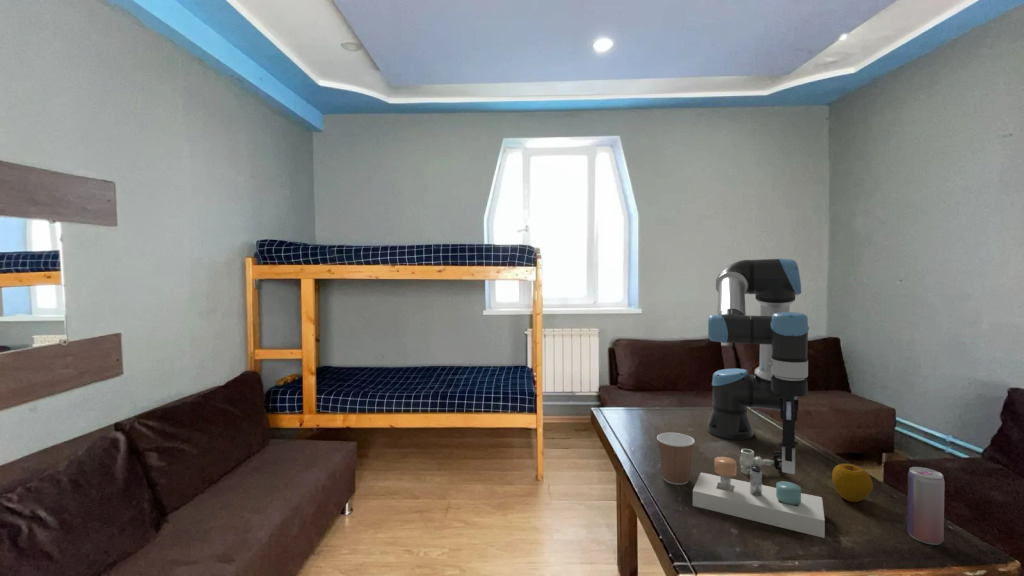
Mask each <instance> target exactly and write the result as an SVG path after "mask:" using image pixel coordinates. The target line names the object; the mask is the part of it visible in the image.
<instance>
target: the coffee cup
mask: <svg viewBox="0 0 1024 576" xmlns="http://www.w3.org/2000/svg"><path fill="white" fill-rule="evenodd" d="M656 439H657V442H658V450H659V460H660V467H661V468H660V469H661V474H662V479H663V480H664V481H665V482H667V483H668V484H672V485H675V486H676V485H679V486H681V485H687V484H688V483H689V480H690V477H691V467H692V458H693V452H694V450H693V449H694V444H695V442H696V441H695V439H694V437H692V436H690V435H687V434H684V433H679V432H663V433H660V434H659V433H658V435H657V436H656Z"/></svg>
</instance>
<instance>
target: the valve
mask: <svg viewBox="0 0 1024 576" xmlns="http://www.w3.org/2000/svg"><path fill="white" fill-rule="evenodd" d="M739 464H740V473H741V474H744V475H745V476H746V475H747V476H750V469H751V468H752V466H758V467H760V468H762V467H763V466H771V465H772V466H773V467H774V469H775V470H777V473H778V474H783V475H787V473H785V472H782V450H781V451H780V450H778V451H777V450H775V451H774V455H773V456H772V457H771V459H770V458H764V459H763V458H762V457H760V456H755V451H754V450H752V449H749V448H741V451H740V458H739Z"/></svg>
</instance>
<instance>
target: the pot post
mask: <svg viewBox="0 0 1024 576" xmlns="http://www.w3.org/2000/svg"><path fill="white" fill-rule="evenodd" d="M761 468H762V467H758V466H752V468H751V469H750V475H749V482H750V494H752V495H754V496H762V485H763V471H762V469H761Z"/></svg>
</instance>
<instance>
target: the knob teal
mask: <svg viewBox="0 0 1024 576" xmlns="http://www.w3.org/2000/svg"><path fill="white" fill-rule="evenodd" d="M775 485H776V486H775V488H776V497H777V498H778V499H779V500H781V501H783V504H788V505H793V506H794V504H799V503H801V493H802V488H801V486H800V485H798V484H796V483H794V482H790V481H777V482H776V483H775Z"/></svg>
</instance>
